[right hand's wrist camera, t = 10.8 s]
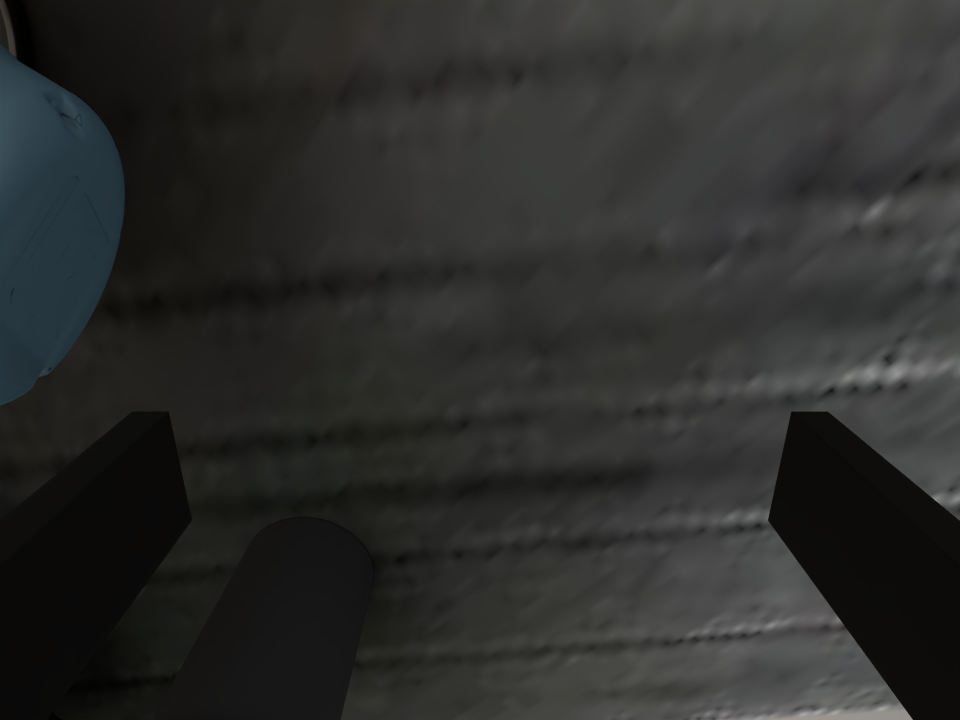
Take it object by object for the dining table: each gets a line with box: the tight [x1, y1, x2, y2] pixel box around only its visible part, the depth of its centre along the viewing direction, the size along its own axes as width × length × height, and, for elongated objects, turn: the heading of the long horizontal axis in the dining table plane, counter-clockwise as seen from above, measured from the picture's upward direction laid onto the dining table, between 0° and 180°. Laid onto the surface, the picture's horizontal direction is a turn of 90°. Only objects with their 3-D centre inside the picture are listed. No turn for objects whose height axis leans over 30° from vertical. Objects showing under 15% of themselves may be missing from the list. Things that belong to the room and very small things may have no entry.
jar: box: [153, 518, 374, 720], centre depth 39 cm, size 10×10×19 cm
